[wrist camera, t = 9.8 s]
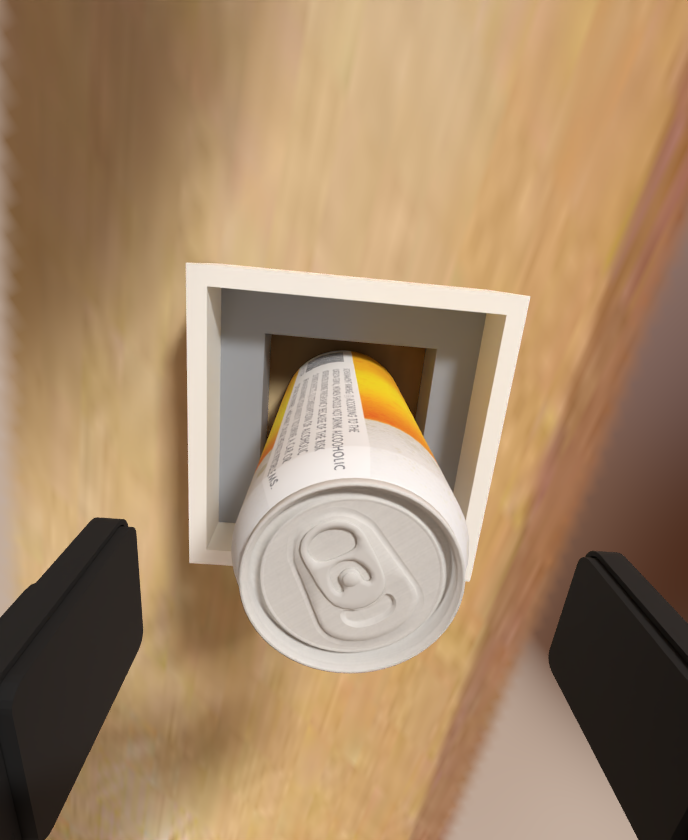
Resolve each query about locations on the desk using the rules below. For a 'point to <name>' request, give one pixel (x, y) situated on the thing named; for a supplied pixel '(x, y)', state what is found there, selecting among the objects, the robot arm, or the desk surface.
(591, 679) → the robot arm
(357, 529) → the beer can
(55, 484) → the desk surface
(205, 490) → the socket box
